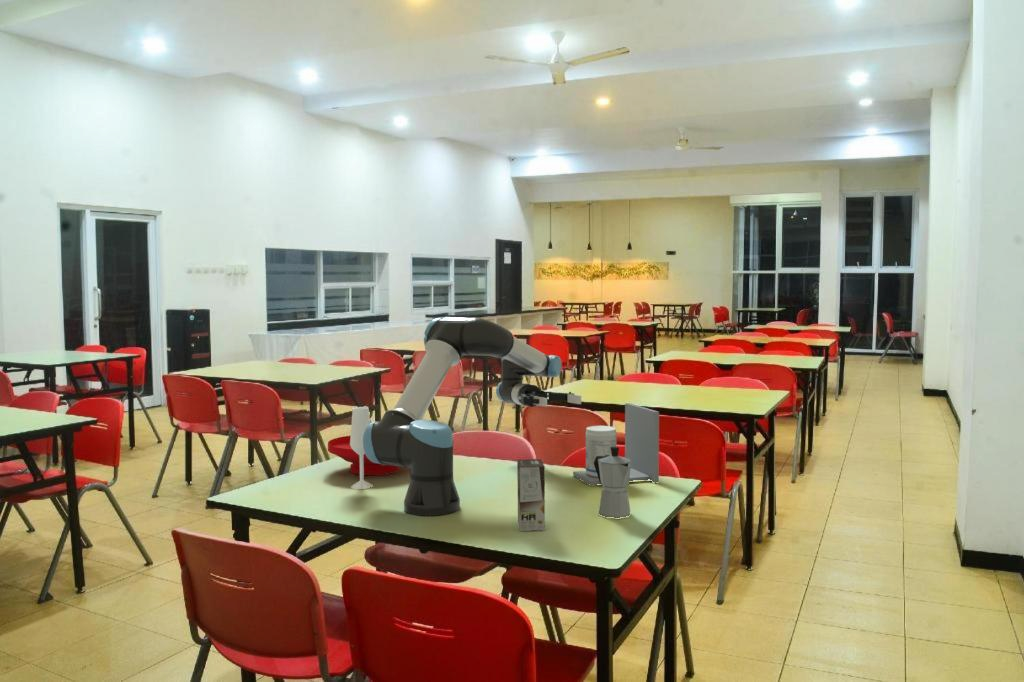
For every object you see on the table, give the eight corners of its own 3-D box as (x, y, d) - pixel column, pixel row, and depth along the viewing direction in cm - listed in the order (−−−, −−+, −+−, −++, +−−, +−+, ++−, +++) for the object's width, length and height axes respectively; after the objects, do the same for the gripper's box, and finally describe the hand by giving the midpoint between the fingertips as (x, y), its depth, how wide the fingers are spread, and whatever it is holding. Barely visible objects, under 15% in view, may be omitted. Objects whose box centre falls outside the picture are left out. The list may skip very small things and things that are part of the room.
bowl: (332, 484, 239) (332, 452, 238) (324, 464, 268) (323, 435, 267) (430, 476, 249) (429, 445, 248) (411, 458, 277) (411, 430, 277)
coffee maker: (643, 518, 201) (643, 449, 200) (616, 523, 197) (616, 452, 196) (608, 504, 214) (608, 440, 213) (582, 509, 210) (582, 443, 208)
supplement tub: (585, 470, 248) (585, 425, 247) (615, 471, 247) (615, 425, 247) (585, 477, 239) (585, 430, 238) (616, 478, 238) (617, 430, 237)
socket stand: (658, 482, 238) (659, 411, 237) (595, 488, 232) (595, 415, 230) (629, 469, 257) (629, 403, 256) (569, 474, 251) (569, 406, 249)
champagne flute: (377, 486, 236) (376, 408, 234) (357, 490, 231) (356, 410, 230) (366, 482, 241) (365, 405, 239) (346, 486, 237) (345, 407, 235)
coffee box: (545, 531, 190) (545, 466, 189) (519, 531, 190) (519, 466, 189) (541, 520, 199) (541, 458, 199) (516, 521, 199) (516, 459, 198)
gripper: (556, 403, 275) (593, 410, 257) (496, 408, 261) (531, 415, 243) (556, 382, 274) (594, 387, 257) (496, 385, 261) (531, 391, 243)
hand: (563, 401), depth 250 cm, fingers open, 13 cm apart
